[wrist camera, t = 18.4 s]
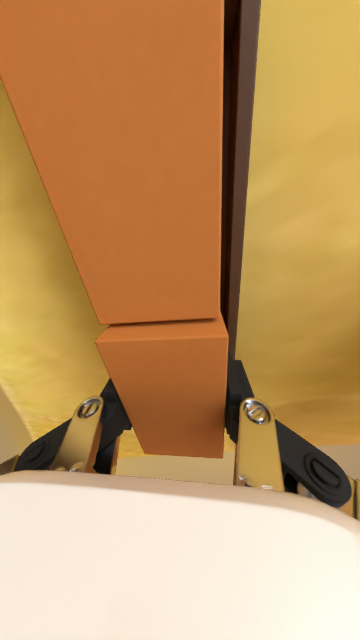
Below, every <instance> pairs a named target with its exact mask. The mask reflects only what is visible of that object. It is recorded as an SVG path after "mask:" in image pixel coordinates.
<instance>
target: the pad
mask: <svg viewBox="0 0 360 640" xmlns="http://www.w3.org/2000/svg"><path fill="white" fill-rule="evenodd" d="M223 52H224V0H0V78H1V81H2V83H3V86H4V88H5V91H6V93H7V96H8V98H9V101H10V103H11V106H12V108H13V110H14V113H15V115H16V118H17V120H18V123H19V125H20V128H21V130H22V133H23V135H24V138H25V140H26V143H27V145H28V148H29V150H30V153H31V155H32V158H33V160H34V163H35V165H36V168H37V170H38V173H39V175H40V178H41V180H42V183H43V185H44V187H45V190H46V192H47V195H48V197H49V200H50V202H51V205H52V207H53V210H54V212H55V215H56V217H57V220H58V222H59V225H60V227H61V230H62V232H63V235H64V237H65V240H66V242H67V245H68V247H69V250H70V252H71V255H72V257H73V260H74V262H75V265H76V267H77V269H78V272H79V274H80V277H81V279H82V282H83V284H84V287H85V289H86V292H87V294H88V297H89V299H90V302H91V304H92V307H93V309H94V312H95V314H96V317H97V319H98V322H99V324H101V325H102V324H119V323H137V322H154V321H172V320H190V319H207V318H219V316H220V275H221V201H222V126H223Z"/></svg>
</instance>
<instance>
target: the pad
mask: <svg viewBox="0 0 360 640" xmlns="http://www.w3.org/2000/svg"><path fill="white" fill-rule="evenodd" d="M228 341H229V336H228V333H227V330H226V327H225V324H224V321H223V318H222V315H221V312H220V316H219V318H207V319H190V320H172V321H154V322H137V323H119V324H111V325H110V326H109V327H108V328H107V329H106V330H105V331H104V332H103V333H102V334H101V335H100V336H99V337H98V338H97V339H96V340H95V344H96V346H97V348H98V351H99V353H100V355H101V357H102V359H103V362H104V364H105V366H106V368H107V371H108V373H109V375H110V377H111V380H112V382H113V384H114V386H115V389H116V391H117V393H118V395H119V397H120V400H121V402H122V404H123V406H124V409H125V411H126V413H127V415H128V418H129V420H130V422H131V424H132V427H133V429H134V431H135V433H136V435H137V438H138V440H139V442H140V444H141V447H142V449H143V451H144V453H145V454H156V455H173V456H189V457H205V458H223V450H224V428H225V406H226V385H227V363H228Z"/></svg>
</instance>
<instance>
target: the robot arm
mask: <svg viewBox="0 0 360 640" xmlns="http://www.w3.org/2000/svg"><path fill="white" fill-rule="evenodd" d="M131 427H132V424H131V422H130V420H129V418H128V415H127V413H126V411H125V409H124V406H123V404H122V402H121V400H120V397H119V395H118V393H117V391H116V389H115V386H114V384H113V382H112V380H111V378H110V379H109V381H108V383H107V384H106V386H105V387H104V389H103V391H102V392H101V394H100V396H92V397H89V398H87V399H86V400H84V401H83V402H82V403H80V405H79V406H78V407H77V409H76V410H75V412H74V415H73V417H72V418H71V419H69V420H68V421H66V422H65V423H63V424H61V425H60V426H58V427H56V428H55V429H53V430H52V431H50V432H48V433H47V434H45V435H44V436H42V437H40V438H39V439H37V440H36V441H34V442H33V443H32V444H30V445H29V446H28V447H27V448H26V449H25V450H24V452H23V453H22V454H21V456H19V455H16V456H14V457H12V458H11V459H9V460H7V461H5V462H3V463H2V464H0V640H360V480H359V479H356V480H354V479H352V478H351V477H349V476H347V475H346V474H345V473H344V471H343V470H342V469H341V467H340V466H339V465H338V464H337V463H336V462H335V461H334V460H332V459H331V458H330V457H329V456H327V455H326V454H325V453H323V452H322V451H320V450H319V449H317V448H316V447H315V446H313V445H312V444H310V443H309V442H307V441H306V440H305V439H303V438H302V437H300V436H299V435H297V434H296V433H295V432H293V431H292V430H290V429H289V428H287V427H286V426H285V425H283V424H282V423H280V422H279V421H277V420H276V419H275V416H274V413H273V411H272V409H271V408H270V406H269V405H267V404H266V403H265V402H264V401H262V400H260V399H257V398H255V397H254V394H253V392H252V389H251V386H250V383H249V381H248V378H247V375H246V373H245V370H244V367H243V364H242V362H241V360H232V357H231V354H230V350H229V347H228V363H227V385H226V406H225V428H226V429H227V434H229V435H230V439H231V440H232V441H233V442H234V443H235V444H236V448H235V465H234V480H233V485H223V484H213V483H200V482H190V481H179V480H167V479H155V478H143V477H132V476H120V475H115V472H116V465H117V457H118V450H119V443H120V435H121V434H122V433H123V430H131Z"/></svg>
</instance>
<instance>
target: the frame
mask: <svg viewBox="0 0 360 640" xmlns="http://www.w3.org/2000/svg"><path fill="white" fill-rule="evenodd" d="M260 7H261V0H224V52H223V126H222V201H221V275H220V312H221V315H222V318H223V321H224V324H225V327H226V330H227V333H228V336H229V341H228V347H229V350H230V354H231V357H232V360H235V348H236V334H237V320H238V307H239V293H240V280H241V266H242V252H243V239H244V225H245V211H246V198H247V184H248V171H249V157H250V143H251V130H252V116H253V103H254V89H255V75H256V62H257V48H258V35H259V21H260Z"/></svg>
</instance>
